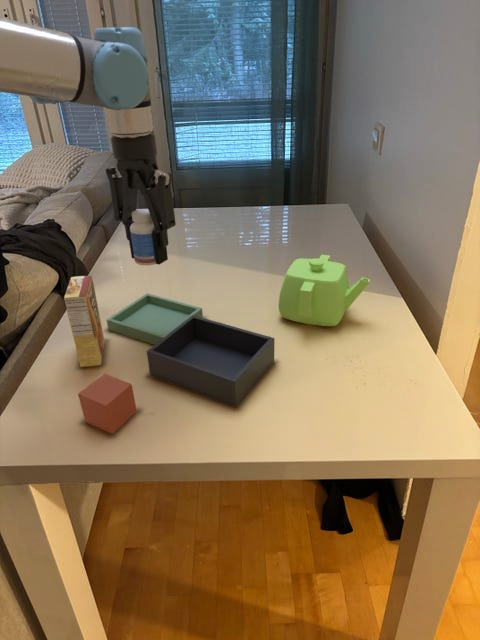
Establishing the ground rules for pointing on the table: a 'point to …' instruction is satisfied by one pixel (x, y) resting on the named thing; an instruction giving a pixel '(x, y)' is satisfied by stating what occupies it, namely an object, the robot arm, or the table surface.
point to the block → (107, 403)
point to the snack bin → (212, 359)
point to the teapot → (317, 291)
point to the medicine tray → (151, 318)
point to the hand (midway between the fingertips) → (149, 258)
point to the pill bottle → (142, 237)
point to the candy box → (85, 320)
